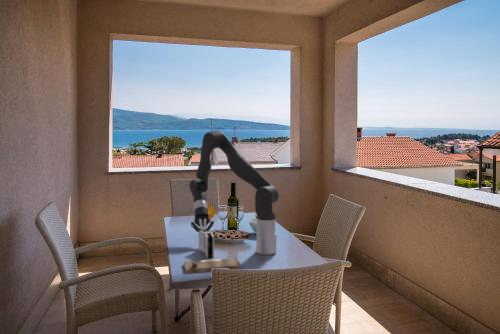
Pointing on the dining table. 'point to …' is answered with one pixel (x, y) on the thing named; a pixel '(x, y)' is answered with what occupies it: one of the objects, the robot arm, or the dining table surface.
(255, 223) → the chinaware
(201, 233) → the hinge
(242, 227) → the dining table surface
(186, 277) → the dining table surface
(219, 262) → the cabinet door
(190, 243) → the dining table surface
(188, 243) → the dining table surface
